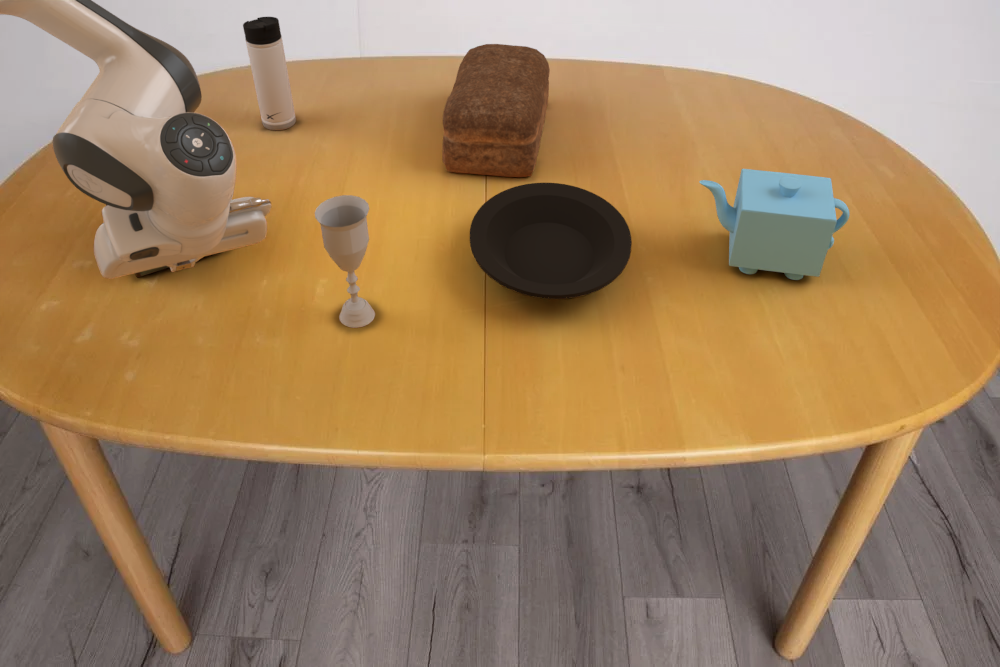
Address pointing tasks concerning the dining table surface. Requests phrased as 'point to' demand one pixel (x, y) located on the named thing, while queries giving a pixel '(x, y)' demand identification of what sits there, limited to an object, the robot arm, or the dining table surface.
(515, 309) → the dining table surface
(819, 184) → the teapot
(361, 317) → the chalice
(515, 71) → the bread
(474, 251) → the plate
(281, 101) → the travel mug
